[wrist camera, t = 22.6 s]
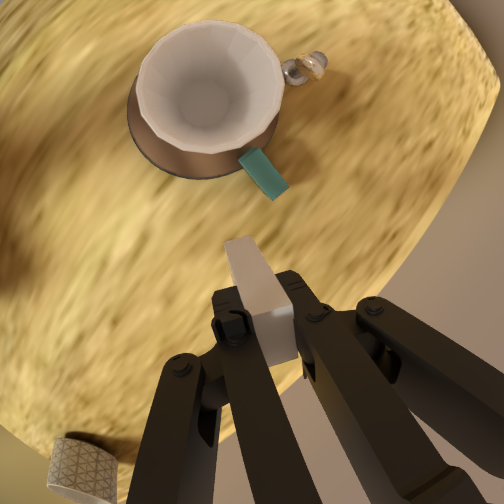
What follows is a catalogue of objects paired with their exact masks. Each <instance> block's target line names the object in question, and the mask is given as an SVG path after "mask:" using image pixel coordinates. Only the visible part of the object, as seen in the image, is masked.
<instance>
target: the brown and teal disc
mask: <svg viewBox="0 0 504 504" xmlns="http://www.w3.org/2000/svg"><path fill="white" fill-rule="evenodd" d="M138 75H139V74H138ZM137 80H138V76H137V78H136V80H135V82H134V84H133V87H132V90H131V93H130V97H129V104H128V116H129V123H130V127H131V131H132V133H133V136H134V138H135V140H136V142H137V143H138V145H139V147H140V148H141V149H142V151H143V152H144V153H145V154H146V155H147V156H148V157H149V158H150V159H151V160H152V161H153V162H155V163H156V164H157V165H159V166H160V167H162V168H164V169H166V170H168V171H171V172H173V173H176V174H179V175H183V176H189V177H211V176H217V175H221V174H225V173H228V172H230V171H233V170H235V169H237V168H239V167H241V166H242V167H243V168H244V169H245V171H246V172H247V173H248V174H249V176H250V177H251V178H252V179H253V180H254V182H255V183H256V184H257V185H258V187H259V188H260V189H261V190H262V192H263V193H264V194H265V195H266V196H267V197H269V198H270V199H271V200H272V201H273V200H274V199H276V198H277V197H278V196H279V195H281V194H282V193H283V192H284V191H286V190H287V189H288V188H289V186H288V185H287V183H286V182H285V181H284V179H283V178H282V177H281V175H280V174H279V173H278V171H277V170H276V169H275V167H274V166H273V165H272V163H271V162H270V161H269V159H268V158H267V157H266V156H265V154H264V153H263V152H262V150H261V149H262V148H263V147H264V146H265V144H266V143H267V141H268V140H269V138H270V136H271V134H272V132H273V130H274V128H275V125H276V122H277V117H278V113H277V114H276V116H275V117H274V118H273V120H272V121H271V123H270V124H269V126H268V127H267V129H266V130H265V131H264V132H263V133H262V134H260V135H259V136H257V137H256V138H254V139H253V140H251V141H249V142H248V143H246V144H245V145H244V146H242V147H241V148H236V149H232V150H227V151H223V152H219V153H215V154H206V153H199V152H191V151H183V150H181V149H179V148H177V147H175V146H174V145H172V144H170V143H168V142H166V141H164V140H163V139H161V138H159V137H157V135H156V134H155V133H154V131H153V130H152V129H151V127H150V126H149V125H148V124H147V122H146V121H145V120H144V118H143V117H142V116H141V113H140V108H139V104H138V99H137V94H136V84H137Z"/></svg>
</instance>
